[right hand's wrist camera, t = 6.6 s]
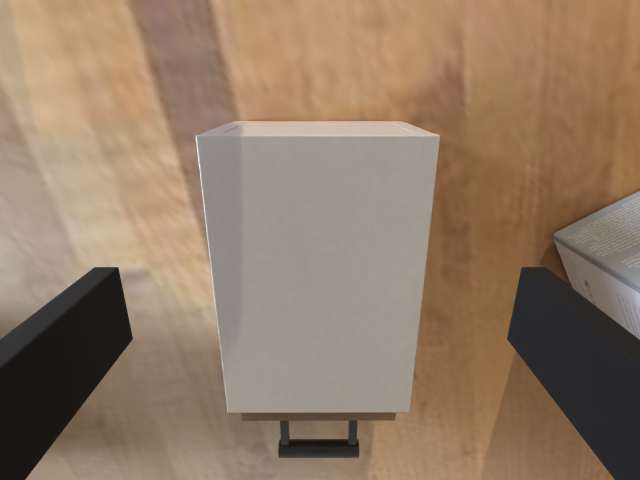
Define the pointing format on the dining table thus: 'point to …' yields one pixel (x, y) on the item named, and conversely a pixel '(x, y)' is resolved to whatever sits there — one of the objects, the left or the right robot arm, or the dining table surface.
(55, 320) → the right robot arm
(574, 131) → the dining table surface
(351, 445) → the drawer
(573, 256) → the hard drive box
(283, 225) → the cabinet
